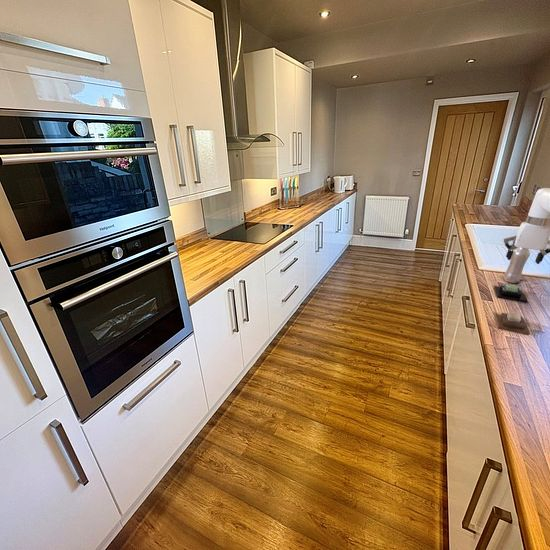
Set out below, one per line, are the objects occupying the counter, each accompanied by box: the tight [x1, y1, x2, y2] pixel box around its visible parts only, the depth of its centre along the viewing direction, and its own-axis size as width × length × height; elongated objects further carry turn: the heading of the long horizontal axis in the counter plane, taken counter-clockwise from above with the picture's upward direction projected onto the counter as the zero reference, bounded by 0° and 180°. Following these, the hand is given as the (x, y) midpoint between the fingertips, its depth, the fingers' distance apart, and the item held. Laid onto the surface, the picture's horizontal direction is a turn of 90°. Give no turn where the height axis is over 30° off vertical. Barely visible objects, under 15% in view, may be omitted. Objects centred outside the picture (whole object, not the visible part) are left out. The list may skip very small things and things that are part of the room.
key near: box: [506, 312, 521, 323], centre depth 107 cm, size 3×3×2 cm
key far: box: [505, 283, 519, 292], centre depth 127 cm, size 4×4×2 cm
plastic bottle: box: [502, 247, 531, 284], centre depth 136 cm, size 6×7×20 cm
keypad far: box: [493, 284, 527, 304], centre depth 128 cm, size 10×10×3 cm
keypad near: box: [494, 312, 531, 336], centre depth 108 cm, size 9×9×3 cm
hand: (522, 260), depth 122 cm, fingers open, 9 cm apart
